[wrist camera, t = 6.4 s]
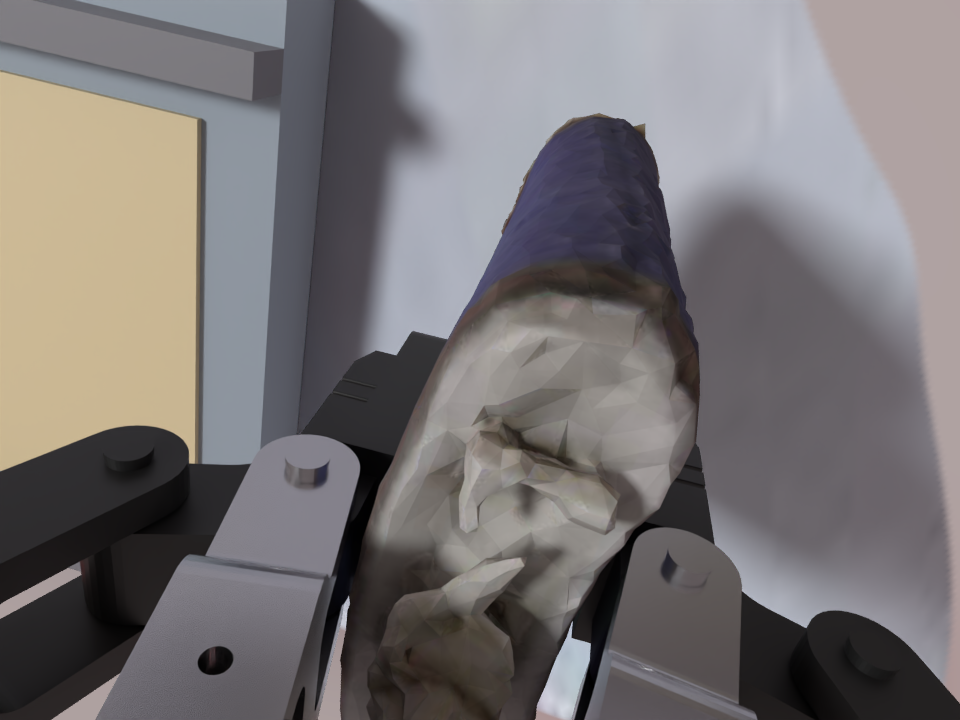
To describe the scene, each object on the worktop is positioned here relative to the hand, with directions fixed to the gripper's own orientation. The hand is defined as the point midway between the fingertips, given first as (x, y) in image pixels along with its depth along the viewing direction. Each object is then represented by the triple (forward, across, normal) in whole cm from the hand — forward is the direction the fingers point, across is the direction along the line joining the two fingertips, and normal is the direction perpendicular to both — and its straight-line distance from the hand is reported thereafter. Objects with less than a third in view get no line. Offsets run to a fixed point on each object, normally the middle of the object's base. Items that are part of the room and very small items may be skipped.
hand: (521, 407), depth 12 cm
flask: (+4, 0, 0) cm, 4 cm away
